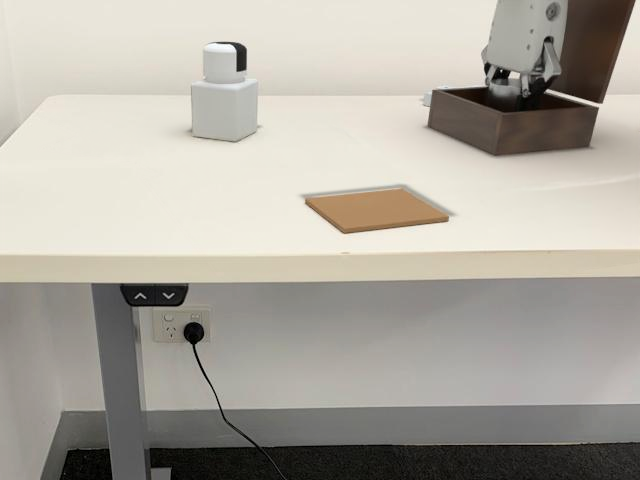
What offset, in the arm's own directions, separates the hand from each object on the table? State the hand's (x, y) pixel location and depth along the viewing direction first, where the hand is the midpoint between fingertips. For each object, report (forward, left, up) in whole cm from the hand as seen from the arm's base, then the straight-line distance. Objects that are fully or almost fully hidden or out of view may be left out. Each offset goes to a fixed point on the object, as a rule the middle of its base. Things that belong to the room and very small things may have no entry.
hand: (507, 120), depth 104 cm
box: (0, 0, -3) cm, 3 cm away
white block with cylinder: (+36, -16, -3) cm, 40 cm away
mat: (+31, +21, -3) cm, 38 cm away
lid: (-8, 0, +11) cm, 14 cm away
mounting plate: (-10, -21, -3) cm, 23 cm away
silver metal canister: (0, 0, -2) cm, 2 cm away
